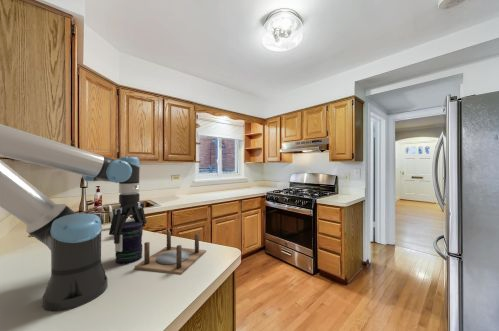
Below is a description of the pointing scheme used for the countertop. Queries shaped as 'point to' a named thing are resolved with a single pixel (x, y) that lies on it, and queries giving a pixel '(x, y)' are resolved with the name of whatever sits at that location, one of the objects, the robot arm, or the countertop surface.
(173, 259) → the walnut stand
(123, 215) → the ceramic fragment
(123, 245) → the storage jar
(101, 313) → the countertop surface
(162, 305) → the countertop surface
